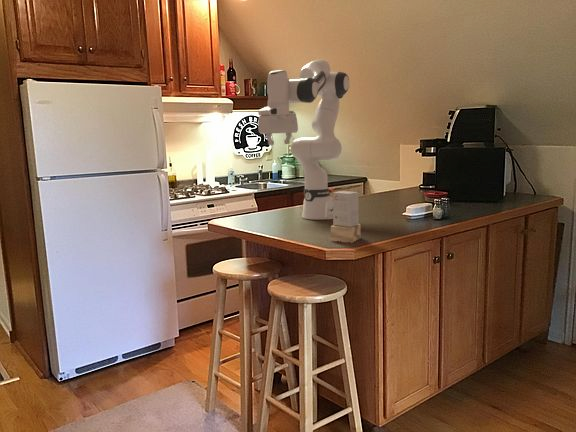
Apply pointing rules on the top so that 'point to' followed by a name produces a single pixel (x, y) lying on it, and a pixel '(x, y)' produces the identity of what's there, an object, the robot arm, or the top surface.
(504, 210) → the top surface
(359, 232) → the maple block
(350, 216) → the small box
